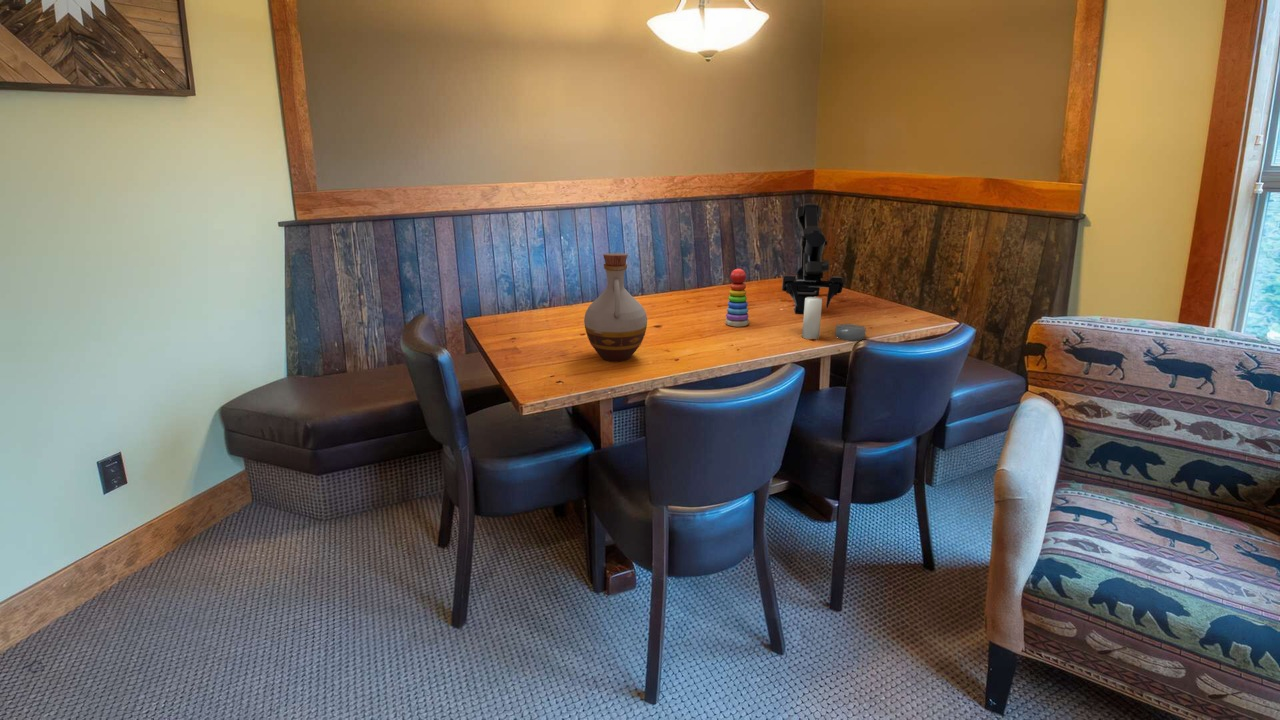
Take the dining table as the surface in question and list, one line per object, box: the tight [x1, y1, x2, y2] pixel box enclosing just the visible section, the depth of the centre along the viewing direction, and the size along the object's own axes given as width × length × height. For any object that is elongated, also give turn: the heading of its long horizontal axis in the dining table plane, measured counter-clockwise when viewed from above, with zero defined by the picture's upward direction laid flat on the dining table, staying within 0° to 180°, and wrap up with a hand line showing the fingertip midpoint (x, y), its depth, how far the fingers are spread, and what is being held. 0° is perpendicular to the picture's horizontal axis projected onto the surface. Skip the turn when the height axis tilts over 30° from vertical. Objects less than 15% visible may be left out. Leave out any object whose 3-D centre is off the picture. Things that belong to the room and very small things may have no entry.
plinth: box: [835, 323, 866, 342], centre depth 229 cm, size 9×9×3 cm
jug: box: [583, 252, 648, 363], centre depth 202 cm, size 20×18×30 cm
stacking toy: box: [724, 268, 750, 328], centre depth 240 cm, size 8×8×19 cm
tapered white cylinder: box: [801, 296, 823, 340], centre depth 226 cm, size 5×5×12 cm
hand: (812, 306), depth 227 cm, fingers open, 9 cm apart
